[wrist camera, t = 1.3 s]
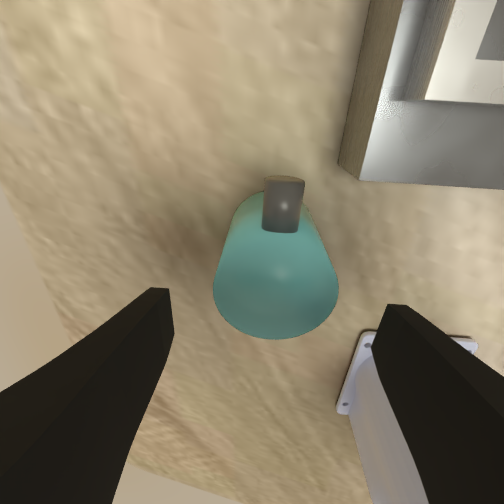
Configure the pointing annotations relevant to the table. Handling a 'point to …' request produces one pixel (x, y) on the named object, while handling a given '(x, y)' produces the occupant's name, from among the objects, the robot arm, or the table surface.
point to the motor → (429, 95)
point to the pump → (275, 266)
